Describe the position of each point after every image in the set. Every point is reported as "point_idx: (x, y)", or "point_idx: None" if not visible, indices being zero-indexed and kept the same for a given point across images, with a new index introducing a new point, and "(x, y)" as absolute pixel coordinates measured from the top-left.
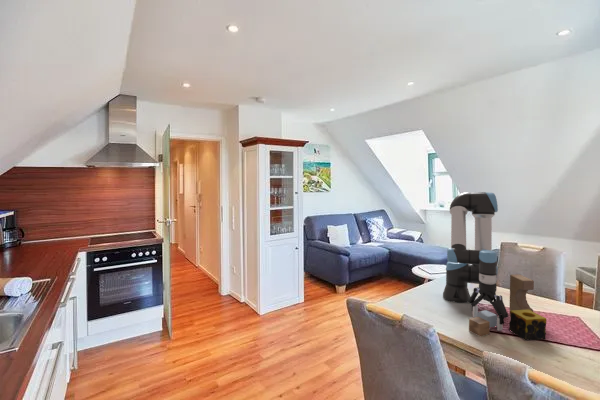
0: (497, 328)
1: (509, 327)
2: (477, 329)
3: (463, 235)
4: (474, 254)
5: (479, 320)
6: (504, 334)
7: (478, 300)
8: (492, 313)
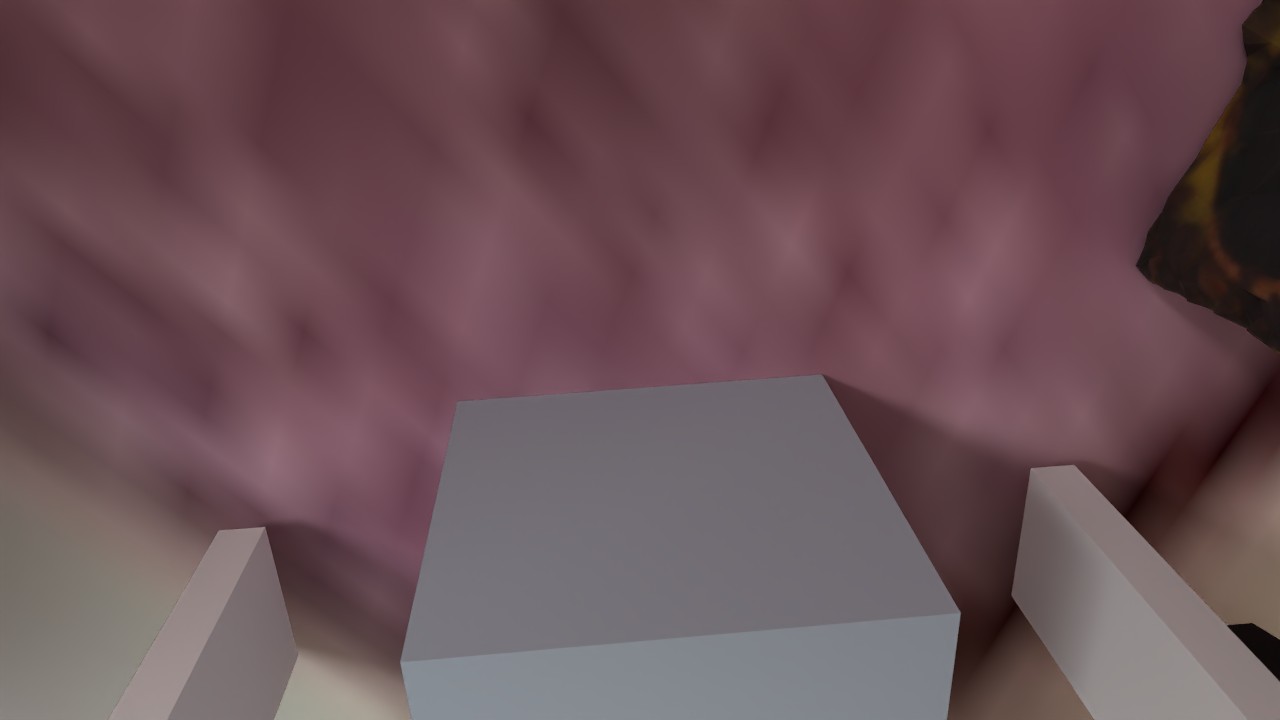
0: (1045, 626)
1: (1210, 307)
2: None
3: None
4: None
5: None
6: (1177, 539)
7: None
8: (780, 675)
